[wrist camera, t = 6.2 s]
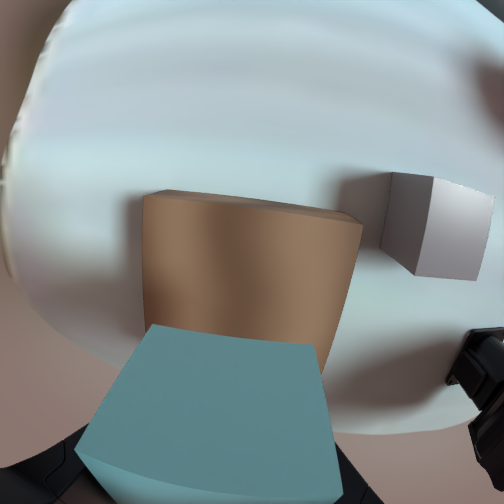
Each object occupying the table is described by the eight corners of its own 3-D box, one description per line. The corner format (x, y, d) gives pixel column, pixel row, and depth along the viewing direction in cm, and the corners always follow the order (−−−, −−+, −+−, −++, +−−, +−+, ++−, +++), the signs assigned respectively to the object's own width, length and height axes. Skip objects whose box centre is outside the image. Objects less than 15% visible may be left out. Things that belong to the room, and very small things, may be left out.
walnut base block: (343, 211, 17) (363, 225, 13) (308, 354, 20) (315, 390, 16) (169, 189, 17) (143, 196, 13) (167, 335, 20) (149, 367, 16)
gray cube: (449, 187, 15) (495, 197, 11) (436, 254, 17) (476, 281, 12) (391, 172, 15) (434, 176, 11) (379, 247, 17) (414, 275, 12)
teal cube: (314, 344, 8) (343, 493, 3) (285, 435, 10) (287, 540, 5) (152, 324, 8) (73, 449, 3) (165, 419, 10) (130, 517, 5)
